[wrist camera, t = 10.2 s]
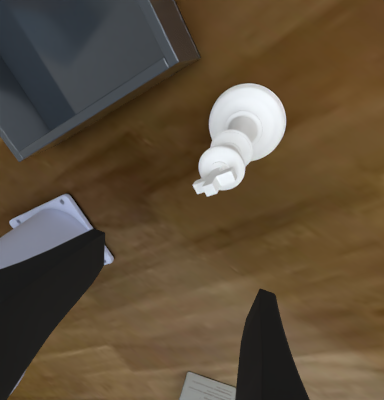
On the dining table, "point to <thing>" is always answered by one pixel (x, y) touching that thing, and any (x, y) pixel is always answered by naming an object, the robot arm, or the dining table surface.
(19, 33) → the square open tray
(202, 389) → the product box
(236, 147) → the chess piece
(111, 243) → the dining table surface
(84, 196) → the dining table surface
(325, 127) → the dining table surface
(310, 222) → the dining table surface
